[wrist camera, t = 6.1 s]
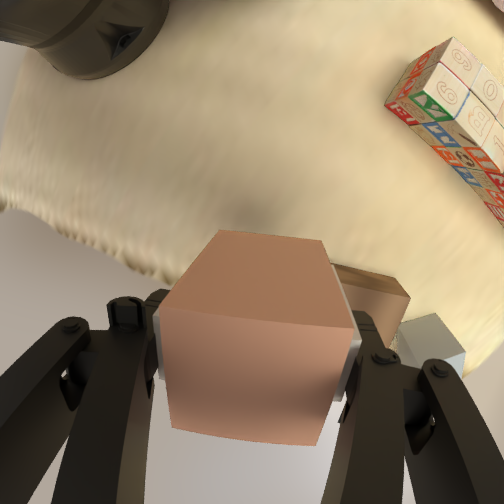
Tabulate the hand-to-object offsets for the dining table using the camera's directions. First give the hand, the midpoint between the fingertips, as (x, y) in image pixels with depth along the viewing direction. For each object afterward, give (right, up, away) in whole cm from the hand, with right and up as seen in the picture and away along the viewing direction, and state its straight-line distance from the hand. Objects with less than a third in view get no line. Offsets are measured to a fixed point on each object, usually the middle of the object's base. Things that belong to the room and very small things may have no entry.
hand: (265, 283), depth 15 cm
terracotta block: (0, 0, 0) cm, 0 cm away
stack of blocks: (+22, +12, +9) cm, 27 cm away
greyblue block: (+18, -8, +16) cm, 26 cm away
